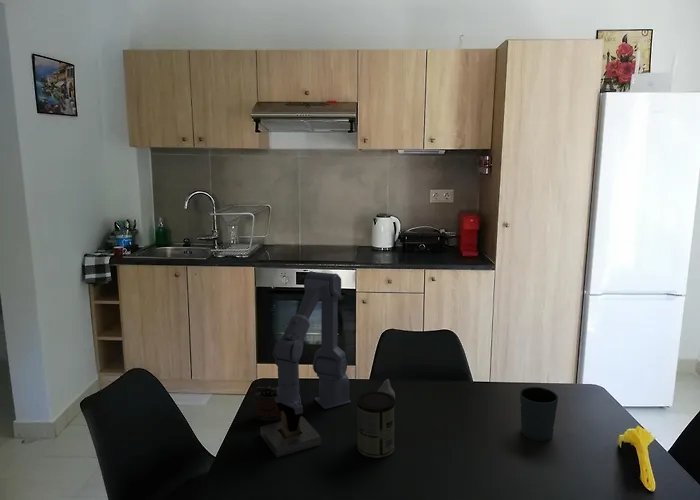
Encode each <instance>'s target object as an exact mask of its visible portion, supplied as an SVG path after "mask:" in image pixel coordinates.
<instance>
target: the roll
mask: <svg viewBox="0 0 700 500" xmlns="http://www.w3.org/2000/svg"><path fill="white" fill-rule="evenodd" d="M377 392H384V393H388V394H390V395H392V396H393V397H394V398H395V399H396V394H395V393H396V392H395V391H394V390H393V388H392V386H391V381H390V379H389V378H387V379H386V380H384V381H383V383H382V385H380V387H379V388H378V389H377Z"/></svg>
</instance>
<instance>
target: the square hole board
mask: <svg viewBox="0 0 700 500" xmlns="http://www.w3.org/2000/svg"><path fill="white" fill-rule="evenodd" d="M259 429H260V430H259V431H260V437H261V438H262V439H263V440H264V442H265V444H266V445H267V446H268V448H269V449H270V450H271V452H272V453H273V455H274V456H275V457H276V458H280V457H284V456H287V455H291V454H294V453H297V452H301V451H305V450H308V449H311V448H315V447H318V446H321V445H322V436H321V435H320V433H318V431H317V430H316V429H315V428H313V426H312V425H311V424H310V423H309V422H308V421H307V419H306V418H305V417H304V416H302V415H301V417H300V435H296V436H293V437H289V438H284V436H283V435H282V430H281V421H278V422H274V423H270V424H267V425H262V426H260V427H259Z"/></svg>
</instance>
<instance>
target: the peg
mask: <svg viewBox="0 0 700 500" xmlns="http://www.w3.org/2000/svg"><path fill="white" fill-rule="evenodd" d="M280 422H281V430H282V435H283V437H284V439H285V438H289V437H293V436H296V435H300V420H299V423H298V428H297V431H293V432H290V431H289V429H288V424H287V419H286V416H285V413H284V412H283V411H281V419H280Z"/></svg>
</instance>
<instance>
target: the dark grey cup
mask: <svg viewBox="0 0 700 500" xmlns="http://www.w3.org/2000/svg"><path fill="white" fill-rule="evenodd" d="M519 401H520V403H519V404H520V430H521V433H522V434H523V436H524V437H526V438H528V439H529V440H533V441H536V442H537V441H538V442H545V441H546V442H547V441H549V440H551V439H552V438H553V434H554V427H555V420H556V415H557V408H558V401H559V396H558V394H557V393H556V392H554V391H553V390H551V389H549V388H546V387H541V386H540V387H539V386H528V387H524V388H522V389H521V390H520V391H519Z"/></svg>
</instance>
